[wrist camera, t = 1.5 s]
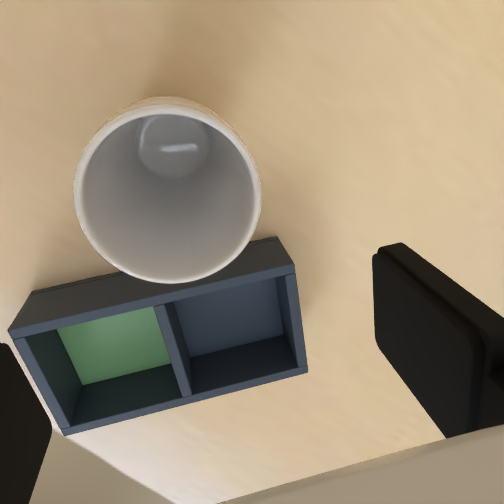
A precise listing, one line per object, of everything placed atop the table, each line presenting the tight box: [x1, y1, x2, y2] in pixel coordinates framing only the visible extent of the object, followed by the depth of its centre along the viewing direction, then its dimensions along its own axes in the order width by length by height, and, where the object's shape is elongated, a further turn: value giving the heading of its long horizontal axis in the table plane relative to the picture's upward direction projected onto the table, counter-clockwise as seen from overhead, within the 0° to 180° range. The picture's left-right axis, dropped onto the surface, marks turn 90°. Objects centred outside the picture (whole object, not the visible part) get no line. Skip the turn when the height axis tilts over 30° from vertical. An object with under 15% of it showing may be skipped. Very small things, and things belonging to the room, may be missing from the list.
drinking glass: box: [73, 96, 262, 284], centre depth 21 cm, size 7×7×15 cm
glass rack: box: [8, 236, 308, 436], centre depth 31 cm, size 10×19×5 cm, turn 99°
